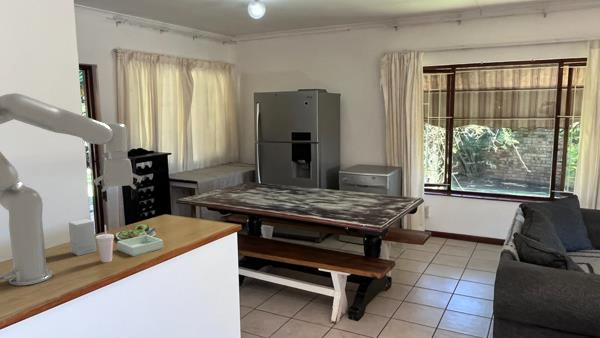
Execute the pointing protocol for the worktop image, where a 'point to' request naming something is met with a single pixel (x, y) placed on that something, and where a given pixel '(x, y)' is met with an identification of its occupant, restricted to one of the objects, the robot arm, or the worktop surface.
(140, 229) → the avocado toast plate
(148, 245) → the bin
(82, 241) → the supplement box
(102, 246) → the smoothie
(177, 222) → the worktop surface
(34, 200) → the robot arm
